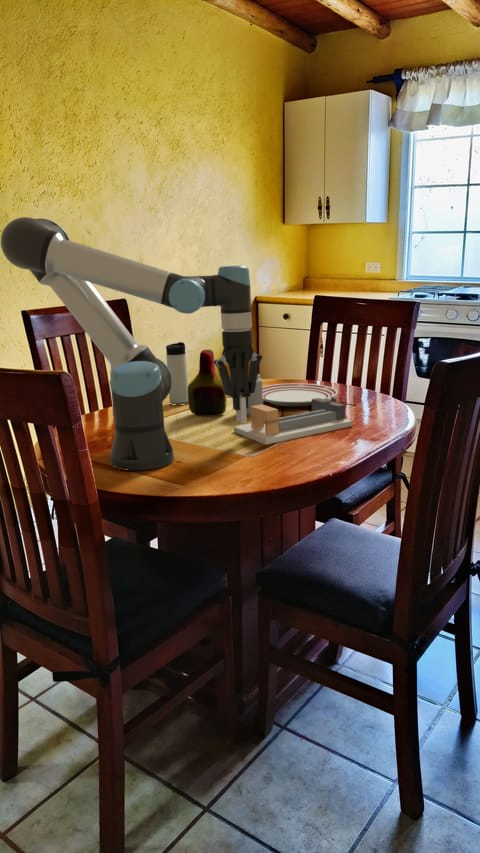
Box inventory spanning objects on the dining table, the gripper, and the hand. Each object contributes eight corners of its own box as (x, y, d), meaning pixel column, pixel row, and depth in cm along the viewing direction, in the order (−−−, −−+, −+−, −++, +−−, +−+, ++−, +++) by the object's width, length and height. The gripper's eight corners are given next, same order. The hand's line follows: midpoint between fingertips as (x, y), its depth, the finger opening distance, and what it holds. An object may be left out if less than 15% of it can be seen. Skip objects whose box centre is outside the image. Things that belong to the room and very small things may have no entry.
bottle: (230, 412, 206) (226, 348, 201) (224, 417, 200) (221, 351, 195) (192, 412, 208) (188, 348, 203) (186, 417, 202) (182, 351, 197)
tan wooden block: (267, 434, 173) (266, 411, 171) (251, 428, 179) (250, 406, 178) (278, 432, 174) (277, 409, 173) (262, 426, 181) (261, 404, 179)
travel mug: (193, 402, 222) (189, 342, 217) (181, 406, 216) (177, 345, 211) (178, 401, 225) (174, 341, 220) (166, 405, 220) (161, 344, 215)
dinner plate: (350, 395, 223) (350, 385, 222) (316, 413, 201) (315, 402, 200) (278, 389, 237) (278, 380, 236) (238, 406, 215) (237, 396, 214)
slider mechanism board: (265, 444, 170) (265, 420, 169) (234, 431, 184) (232, 408, 182) (352, 426, 184) (352, 403, 183) (316, 415, 198) (316, 393, 196)
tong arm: (276, 428, 178) (275, 420, 177) (272, 427, 179) (272, 419, 179) (326, 418, 186) (326, 410, 186) (323, 417, 188) (323, 409, 187)
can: (261, 416, 199) (259, 377, 196) (236, 416, 201) (234, 377, 198) (265, 410, 206) (264, 372, 203) (241, 410, 208) (239, 372, 205)
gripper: (251, 325, 172) (255, 414, 178) (206, 331, 165) (212, 423, 171) (267, 328, 165) (270, 420, 171) (221, 333, 159) (226, 429, 165)
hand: (241, 421), depth 171 cm, fingers closed
